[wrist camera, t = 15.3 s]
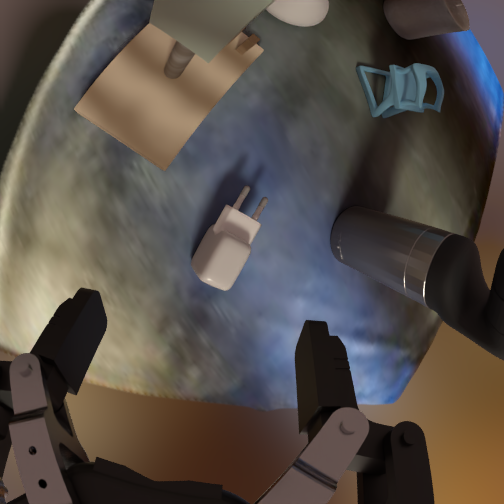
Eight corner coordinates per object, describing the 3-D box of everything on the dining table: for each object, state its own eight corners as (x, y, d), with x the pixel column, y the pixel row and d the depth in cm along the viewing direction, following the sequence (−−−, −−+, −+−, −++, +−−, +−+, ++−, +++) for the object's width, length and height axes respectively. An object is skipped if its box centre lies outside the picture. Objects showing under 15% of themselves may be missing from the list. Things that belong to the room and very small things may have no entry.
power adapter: (229, 178, 34) (249, 182, 28) (261, 198, 36) (285, 205, 31) (183, 262, 34) (194, 280, 29) (217, 277, 37) (233, 297, 31)
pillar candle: (389, -10, 33) (448, -28, 20) (418, 25, 38) (476, 15, 25) (376, 12, 34) (443, -7, 21) (409, 49, 39) (474, 40, 25)
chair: (361, 116, 38) (425, 114, 28) (355, 65, 35) (417, 52, 25) (392, 119, 41) (452, 119, 31) (387, 73, 38) (445, 65, 28)
